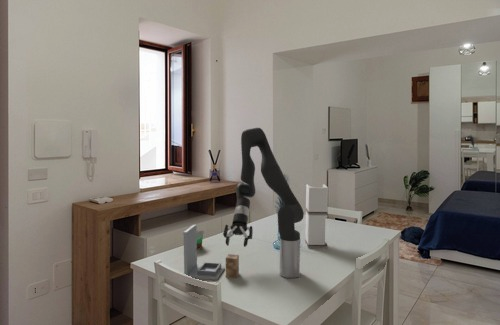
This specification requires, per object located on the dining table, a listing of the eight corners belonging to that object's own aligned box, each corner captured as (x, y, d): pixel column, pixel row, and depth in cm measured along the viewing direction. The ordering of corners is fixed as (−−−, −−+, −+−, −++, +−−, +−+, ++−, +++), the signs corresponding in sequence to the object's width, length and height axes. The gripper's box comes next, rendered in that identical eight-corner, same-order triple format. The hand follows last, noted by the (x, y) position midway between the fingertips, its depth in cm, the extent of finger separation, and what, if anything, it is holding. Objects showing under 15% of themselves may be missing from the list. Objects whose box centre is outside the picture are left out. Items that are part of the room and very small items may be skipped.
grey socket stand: (224, 268, 171) (224, 226, 169) (217, 280, 158) (216, 233, 156) (194, 266, 174) (193, 224, 172) (184, 277, 161) (183, 232, 159)
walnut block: (238, 273, 165) (238, 254, 165) (236, 278, 160) (235, 259, 159) (228, 272, 166) (228, 254, 166) (225, 277, 161) (225, 258, 160)
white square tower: (326, 248, 201) (328, 187, 197) (308, 248, 201) (309, 187, 198) (323, 242, 212) (324, 184, 209) (305, 241, 212) (306, 184, 209)
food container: (183, 251, 196) (183, 233, 195) (182, 247, 202) (182, 230, 201) (205, 249, 199) (205, 231, 198) (204, 245, 205) (204, 228, 204)
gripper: (226, 211, 178) (220, 241, 168) (253, 213, 176) (249, 242, 166) (228, 219, 184) (223, 248, 174) (255, 221, 182) (251, 250, 171)
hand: (235, 245), depth 170 cm, fingers open, 8 cm apart
